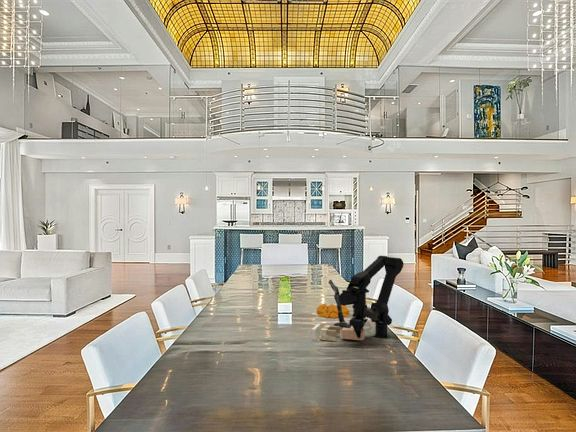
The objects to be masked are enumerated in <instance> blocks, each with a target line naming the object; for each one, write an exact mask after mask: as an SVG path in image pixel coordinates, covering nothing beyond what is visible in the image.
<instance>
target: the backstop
mask: <svg viewBox="0 0 576 432" xmlns="http://www.w3.org/2000/svg"><path fill="white" fill-rule="evenodd" d="M321 326H322V324H321V323H316V325H315V326H314V327H312V328H311V341H316V340H317V339H318V338H319V337H321V329H322V327H321Z"/></svg>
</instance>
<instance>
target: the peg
mask: <svg viewBox="0 0 576 432" xmlns="http://www.w3.org/2000/svg"><path fill="white" fill-rule="evenodd" d="M365 334H366V332H365V328H363V329H362V330H361V336H360V338H358V337H357V335H356V333H355V331H354V328H353V327H350V328H343V329H342V330H341V339H344V340H354V341H364V340H365V338H366V337H365Z"/></svg>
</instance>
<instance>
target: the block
mask: <svg viewBox="0 0 576 432" xmlns="http://www.w3.org/2000/svg"><path fill="white" fill-rule="evenodd" d="M340 331H341V330H340V326H334V325H329V324H328V325H327V324H325V325H324V326H323V327H321V335H320V340H322V341H329V342H336V341H337V338H339V337H340V336H341V335H340V334H341V332H340Z"/></svg>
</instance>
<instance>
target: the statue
mask: <svg viewBox="0 0 576 432" xmlns="http://www.w3.org/2000/svg"><path fill="white" fill-rule="evenodd" d="M328 284H329V285H330V287H331V289H332V291H333V292H334V295H333V297H334V300H335V303H336V306H337V309H338V318H337V319H338V322H336V323H334V324H333V326H340V331H342V329H343V328H352V325H349V323H347V321H346V320H345V317H344V316H343V313H342V308H341V303H340V301H339V297H340V294H341V293H340V290H339V288H338V286H336V284H335V283H334V282H333V280H332V279H329V280H328Z"/></svg>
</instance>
